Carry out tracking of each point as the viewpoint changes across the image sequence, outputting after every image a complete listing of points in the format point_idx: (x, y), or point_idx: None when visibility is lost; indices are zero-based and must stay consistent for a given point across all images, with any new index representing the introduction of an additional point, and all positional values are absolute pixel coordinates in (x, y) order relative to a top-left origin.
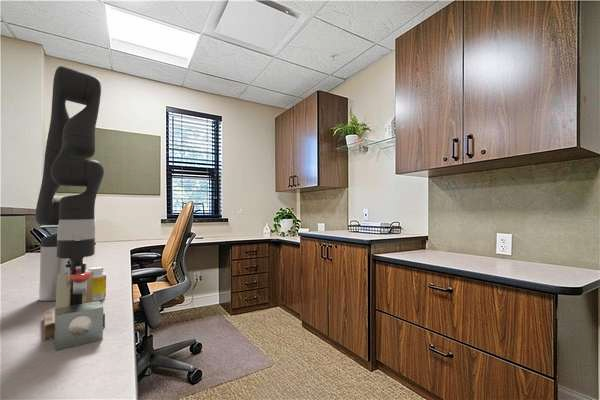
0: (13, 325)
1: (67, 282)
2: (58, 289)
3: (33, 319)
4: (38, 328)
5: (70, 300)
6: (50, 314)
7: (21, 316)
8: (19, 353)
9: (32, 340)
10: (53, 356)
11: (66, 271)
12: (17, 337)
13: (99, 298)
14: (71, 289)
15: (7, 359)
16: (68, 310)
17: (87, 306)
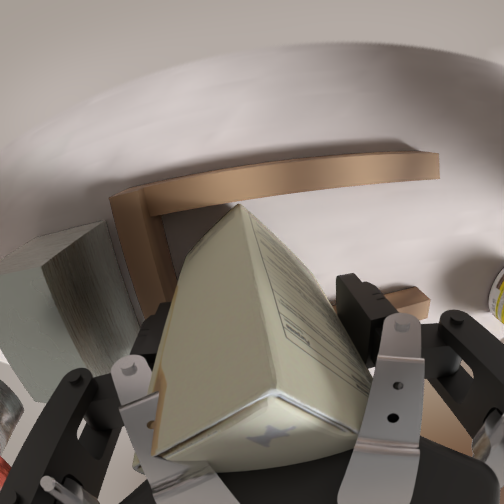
0: (403, 64)
1: (151, 399)
2: (229, 295)
3: (437, 120)
4: (308, 138)
5: (152, 326)
6: (379, 176)
7: (481, 94)
8: (57, 145)
9: (156, 145)
10: (11, 240)
11: (161, 490)
12: (231, 84)
13: (490, 305)
14: (59, 383)
15: (33, 131)
16: (8, 317)
17: (44, 372)
